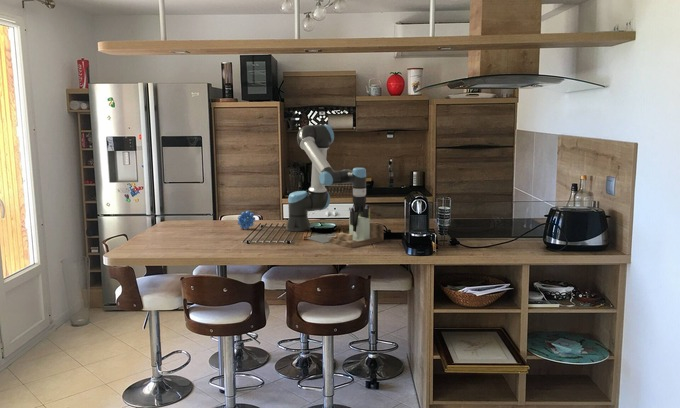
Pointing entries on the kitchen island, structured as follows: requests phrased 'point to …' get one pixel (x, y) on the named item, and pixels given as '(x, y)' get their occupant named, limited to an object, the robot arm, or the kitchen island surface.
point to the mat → (320, 238)
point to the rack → (375, 236)
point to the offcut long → (347, 241)
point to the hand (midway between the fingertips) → (359, 236)
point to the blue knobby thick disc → (246, 219)
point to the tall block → (361, 229)
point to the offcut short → (345, 236)
